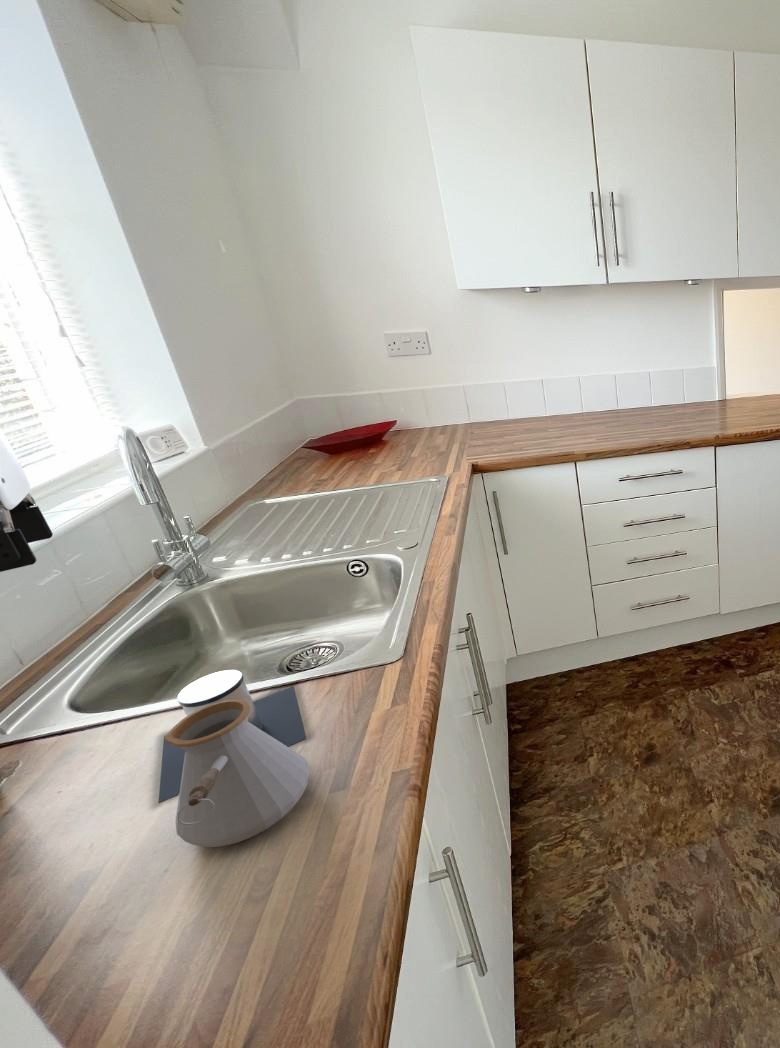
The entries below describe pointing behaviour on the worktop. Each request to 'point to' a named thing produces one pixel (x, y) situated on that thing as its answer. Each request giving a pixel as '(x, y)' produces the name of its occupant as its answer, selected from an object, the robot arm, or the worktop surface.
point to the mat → (277, 722)
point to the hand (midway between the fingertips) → (25, 553)
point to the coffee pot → (232, 776)
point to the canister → (218, 693)
